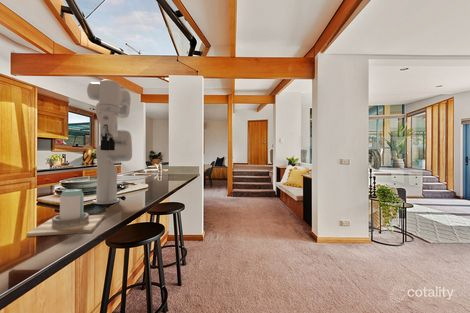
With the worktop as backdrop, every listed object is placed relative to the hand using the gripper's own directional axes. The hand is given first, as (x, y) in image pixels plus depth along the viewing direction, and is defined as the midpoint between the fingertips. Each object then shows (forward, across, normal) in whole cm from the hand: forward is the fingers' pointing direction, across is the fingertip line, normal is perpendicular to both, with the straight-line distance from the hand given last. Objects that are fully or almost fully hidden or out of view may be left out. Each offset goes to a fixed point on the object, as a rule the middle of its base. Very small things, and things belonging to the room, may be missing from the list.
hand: (107, 150), depth 95 cm
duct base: (+28, -11, +9) cm, 32 cm away
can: (+27, -11, +9) cm, 31 cm away
